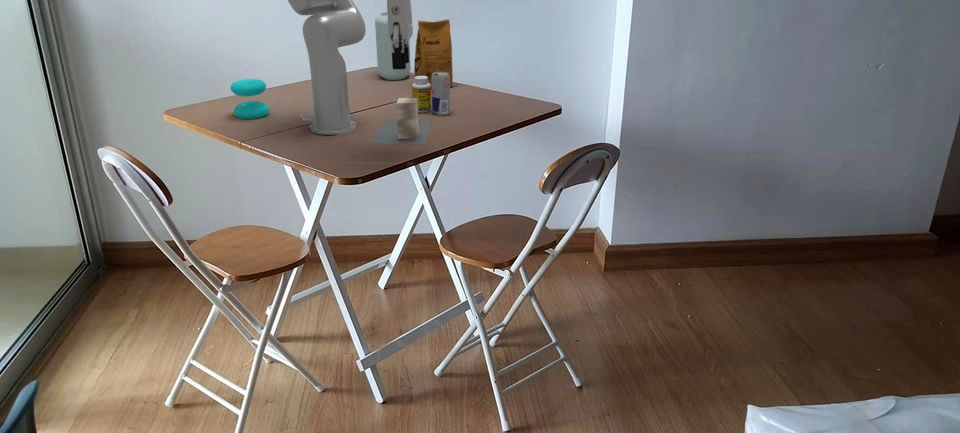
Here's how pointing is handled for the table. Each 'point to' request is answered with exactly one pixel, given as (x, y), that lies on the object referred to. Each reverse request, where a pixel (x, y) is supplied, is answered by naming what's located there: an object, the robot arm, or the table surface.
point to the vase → (387, 51)
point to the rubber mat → (390, 133)
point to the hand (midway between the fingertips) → (401, 65)
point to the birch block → (407, 118)
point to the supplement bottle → (422, 93)
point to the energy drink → (440, 93)
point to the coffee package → (433, 49)
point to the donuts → (251, 107)
